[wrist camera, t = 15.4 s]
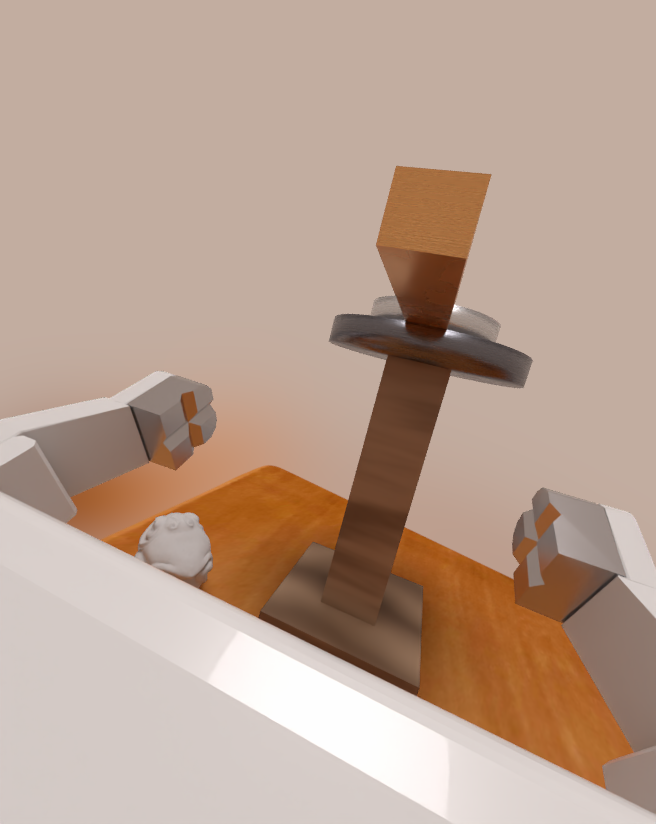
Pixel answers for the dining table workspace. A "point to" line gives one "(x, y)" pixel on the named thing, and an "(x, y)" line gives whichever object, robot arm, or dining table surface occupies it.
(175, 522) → the frog figurine
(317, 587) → the pedestal
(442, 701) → the dining table surface
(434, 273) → the cover
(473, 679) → the dining table surface
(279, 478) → the dining table surface
